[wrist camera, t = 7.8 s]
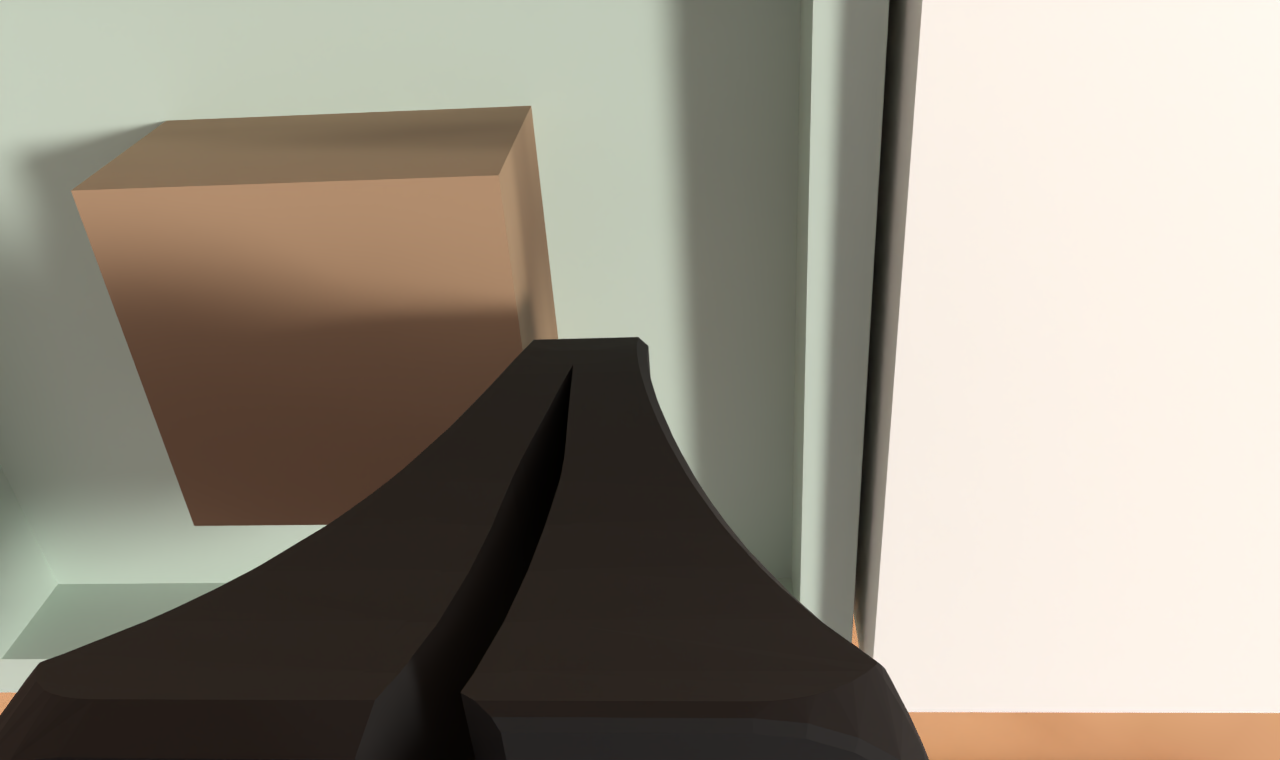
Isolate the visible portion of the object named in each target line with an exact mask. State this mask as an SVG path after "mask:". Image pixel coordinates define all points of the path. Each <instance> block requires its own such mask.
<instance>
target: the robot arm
mask: <svg viewBox="0 0 1280 760" xmlns="http://www.w3.org/2000/svg"><path fill="white" fill-rule="evenodd" d="M0 760H929V759H928V756H927V754H926V751H925V749H924V746H923V744H922V741H921V739H920V737H919V735H918V733H917V730H916V728H915V726H914V724H913V722H912V720H911V718H910V715H909V713H908V711H907V709H906V707H905V705H904V703H903V701H902V699H901V698H900V696H899V694H898V692H897V690H896V688H895V686H894V684H893V682H892V680H891V678H890V676H889V675H888V673H887V671H886V669H885V668H884V667H883V666H882V665H881V664H880V663H878V662H877V661H876V660H874V659H873V658H872V657H870V656H869V655H867V654H866V653H865V652H863V651H862V650H860V649H859V648H858V647H856V646H855V645H853V644H852V643H851V642H849V641H848V640H846V639H845V638H844V637H842V636H841V635H839V634H838V633H837V632H835V631H834V630H833V629H831V628H830V627H828V626H827V625H826V624H824V623H823V622H822V621H821V620H820V619H818V618H817V617H816V616H815V615H814V614H813V613H812V612H810V611H809V610H808V609H807V608H806V607H805V606H804V605H803V604H801V603H800V602H799V601H798V600H797V599H796V598H795V597H793V596H792V595H791V594H790V593H789V592H788V591H787V589H786V588H785V587H784V586H783V585H782V584H781V583H780V582H779V581H778V580H777V579H776V578H775V577H774V576H773V575H772V574H771V573H770V572H769V571H768V570H767V569H766V568H765V567H764V566H763V565H762V564H761V563H760V561H759V560H758V559H757V558H756V557H755V556H754V555H753V554H752V553H751V552H750V551H749V550H748V549H747V548H746V546H745V545H744V544H743V543H742V541H741V540H740V539H739V538H738V536H737V535H736V534H735V533H734V532H733V530H732V529H731V528H730V527H729V525H728V524H727V523H726V522H725V520H724V519H723V517H722V516H721V515H720V513H719V512H718V510H717V509H716V508H715V506H714V505H713V504H712V502H711V501H710V499H709V498H708V496H707V495H706V493H705V492H704V490H703V489H702V487H701V486H700V484H699V482H698V481H697V479H696V477H695V476H694V474H693V472H692V471H691V469H690V467H689V465H688V464H687V462H686V460H685V458H684V457H683V455H682V453H681V451H680V449H679V447H678V445H677V443H676V441H675V439H674V437H673V435H672V433H671V431H670V428H669V426H668V424H667V422H666V419H665V417H664V415H663V412H662V410H661V408H660V405H659V403H658V400H657V397H656V394H655V391H654V388H653V384H652V381H651V377H650V362H649V347H648V345H647V344H646V343H645V342H643V341H642V340H641V339H640V338H639V337H618V338H578V339H539V340H533V341H532V342H531V343H530V344H529V345H528V346H527V347H526V348H525V349H524V350H523V351H522V352H521V353H520V354H519V355H518V356H517V357H516V358H515V359H514V360H513V362H512V363H511V364H510V365H509V366H508V367H507V368H506V369H505V370H504V371H503V372H502V373H501V374H500V376H499V377H498V378H497V379H496V380H495V381H494V382H493V383H492V384H491V385H490V386H489V387H488V388H487V389H486V390H485V392H484V393H483V394H482V395H481V396H480V397H479V398H478V399H477V400H476V401H475V402H474V403H473V404H472V405H471V406H470V407H469V408H468V409H467V410H466V411H465V412H464V413H463V414H462V415H461V416H460V417H459V418H458V419H457V420H456V421H455V422H454V423H453V424H452V425H451V426H450V427H449V428H448V429H447V430H446V431H445V432H444V433H443V434H442V435H440V436H439V437H438V438H437V439H436V440H435V441H434V442H433V443H431V444H430V445H429V446H428V447H427V448H426V449H425V450H424V451H423V452H421V453H420V454H419V455H418V456H417V457H416V458H415V459H414V460H412V461H411V462H410V463H409V464H408V465H407V466H406V467H405V468H404V469H402V470H401V471H400V472H399V473H397V474H396V475H395V476H394V477H392V478H391V479H390V480H389V481H387V482H386V483H385V484H384V485H382V486H381V487H380V488H378V489H377V490H376V491H375V492H373V493H372V494H371V495H369V496H368V497H366V498H365V499H364V500H362V501H361V502H359V503H358V504H357V505H355V506H354V507H352V508H351V509H350V510H348V511H347V512H345V513H344V514H343V515H341V516H340V517H338V518H337V519H335V520H334V521H332V522H331V523H329V524H328V525H326V526H325V527H323V528H321V529H320V530H318V531H316V532H315V533H313V534H311V535H310V536H308V537H306V538H305V539H303V540H301V541H300V542H298V543H296V544H295V545H293V546H291V547H290V548H288V549H286V550H285V551H283V552H281V553H280V554H278V555H276V556H275V557H273V558H272V559H270V560H268V561H267V562H265V563H263V564H262V565H260V566H258V567H256V568H254V569H252V570H251V571H249V572H247V573H245V574H243V575H241V576H239V577H237V578H235V579H233V580H231V581H229V582H228V583H226V584H224V585H222V586H220V587H218V588H216V589H214V590H212V591H210V592H208V593H206V594H203V595H201V596H199V597H197V598H195V599H193V600H191V601H189V602H187V603H185V604H182V605H180V606H178V607H176V608H174V609H172V610H170V611H167V612H165V613H163V614H161V615H158V616H156V617H154V618H152V619H149V620H147V621H145V622H142V623H140V624H137V625H135V626H132V627H130V628H127V629H125V630H122V631H120V632H117V633H114V634H112V635H109V636H107V637H104V638H102V639H99V640H97V641H94V642H92V643H89V644H87V645H84V646H82V647H79V648H77V649H74V650H72V651H69V652H67V653H64V654H61V655H59V656H56V657H53V658H50V659H48V660H45V661H42V662H39V664H38V665H37V666H36V667H35V669H34V670H33V671H32V673H31V674H30V675H29V676H28V678H27V679H26V680H25V682H24V683H23V685H22V686H21V687H20V689H19V690H18V692H17V693H16V694H15V696H14V697H13V699H12V700H11V701H10V703H9V704H8V706H7V707H6V708H5V710H4V711H3V712H2V714H1V715H0Z"/></svg>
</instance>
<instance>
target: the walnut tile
mask: <svg viewBox="0 0 1280 760" xmlns="http://www.w3.org/2000/svg"><path fill="white" fill-rule="evenodd" d="M71 192H72V195H73V198H74V201H75V203H76V206H77V209H78V211H79V214H80V217H81V220H82V222H83V225H84V228H85V230H86V233H87V236H88V239H89V241H90V244H91V247H92V250H93V252H94V255H95V258H96V260H97V263H98V266H99V269H100V271H101V274H102V277H103V279H104V282H105V285H106V288H107V290H108V293H109V296H110V298H111V301H112V304H113V307H114V309H115V312H116V315H117V318H118V320H119V323H120V326H121V328H122V331H123V334H124V337H125V339H126V342H127V345H128V347H129V350H130V353H131V356H132V358H133V361H134V364H135V366H136V369H137V372H138V375H139V377H140V380H141V383H142V386H143V388H144V391H145V394H146V396H147V399H148V402H149V405H150V407H151V410H152V413H153V415H154V418H155V421H156V424H157V426H158V429H159V432H160V434H161V437H162V440H163V443H164V445H165V448H166V451H167V454H168V456H169V459H170V462H171V464H172V467H173V470H174V473H175V475H176V478H177V481H178V483H179V486H180V489H181V492H182V494H183V497H184V500H185V502H186V505H187V508H188V511H189V513H190V516H191V519H192V522H193V524H194V526H257V525H328V524H329V523H331V522H332V521H334V520H335V519H337V518H338V517H340V516H341V515H343V514H344V513H345V512H347V511H348V510H350V509H351V508H352V507H354V506H355V505H357V504H358V503H359V502H361V501H362V500H364V499H365V498H366V497H368V496H369V495H371V494H372V493H373V492H375V491H376V490H377V489H378V488H380V487H381V486H382V485H384V484H385V483H386V482H387V481H389V480H390V479H391V478H392V477H394V476H395V475H396V474H397V473H399V472H400V471H401V470H402V469H404V468H405V467H406V466H407V465H408V464H409V463H410V462H411V461H412V460H414V459H415V458H416V457H417V456H418V455H419V454H420V453H421V452H423V451H424V450H425V449H426V448H427V447H428V446H429V445H430V444H431V443H433V442H434V441H435V440H436V439H437V438H438V437H439V436H440V435H442V434H443V433H444V432H445V431H446V430H447V429H448V428H449V427H450V426H451V425H452V424H453V423H454V422H455V421H456V420H457V419H458V418H459V417H460V416H461V415H462V414H463V413H464V412H465V411H466V410H467V409H468V408H469V407H470V406H471V405H472V404H473V403H474V402H475V401H476V400H477V399H478V398H479V397H480V396H481V395H482V394H483V393H484V392H485V390H486V389H487V388H488V387H489V386H490V385H491V384H492V383H493V382H494V381H495V380H496V379H497V378H498V377H499V376H500V374H501V373H502V372H503V371H504V370H505V369H506V368H507V367H508V366H509V365H510V364H511V363H512V362H513V360H514V359H515V358H516V357H517V356H518V355H519V354H520V353H521V352H522V351H523V350H524V349H525V348H526V347H527V346H528V345H529V344H530V343H531V342H532V341H533V340H539V339H558V332H557V324H556V315H555V306H554V298H553V289H552V280H551V272H550V263H549V255H548V246H547V237H546V229H545V220H544V211H543V203H542V194H541V186H540V177H539V168H538V160H537V151H536V142H535V134H534V125H533V116H532V108H531V106H510V107H486V108H462V109H437V110H413V111H389V112H364V113H340V114H315V115H291V116H267V117H242V118H218V119H193V120H169V121H165V122H164V123H162V124H161V125H160V126H158V127H157V128H156V129H154V130H153V131H151V132H150V133H149V134H147V135H146V136H145V137H143V138H142V139H141V140H139V141H138V142H136V143H135V144H134V145H132V146H131V147H130V148H128V149H127V150H126V151H124V152H123V153H121V154H120V155H119V156H117V157H116V158H115V159H113V160H112V161H111V162H109V163H108V164H106V165H105V166H104V167H102V168H101V169H100V170H98V171H97V172H96V173H94V174H93V175H91V176H90V177H89V178H87V179H86V180H85V181H83V182H82V183H81V184H79V185H78V186H76V187H75V188H74V189H72V190H71Z"/></svg>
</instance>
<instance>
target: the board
mask: <svg viewBox="0 0 1280 760" xmlns="http://www.w3.org/2000/svg"><path fill="white" fill-rule="evenodd" d="M853 612H854V619H855V625H856V631H857V638H858V644H859V649H860V650H862V651H863V652H865V653H866V654H867V655H869V656H870V657H872V658H873V659H874V660H876V661H877V662H878V663H880V664H881V665H882V666H883V667H884V668H885V669H886V671H887V673H888V675H889V676H890V678H891V680H892V682H893V684H894V686H895V688H896V690H897V692H898V694H899V696H900V698H901V699H902V701H903V703H904V705H905V707H906V709H907V711H908V712H1139V713H1280V0H889V14H888V31H887V48H886V66H885V83H884V100H883V117H882V134H881V151H880V168H879V185H878V202H877V219H876V236H875V253H874V270H873V287H872V304H871V321H870V338H869V355H868V372H867V389H866V406H865V423H864V440H863V457H862V474H861V491H860V508H859V525H858V542H857V560H856V577H855V594H854V611H853Z"/></svg>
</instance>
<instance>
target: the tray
mask: <svg viewBox="0 0 1280 760" xmlns="http://www.w3.org/2000/svg"><path fill="white" fill-rule="evenodd" d="M888 14H889V0H0V692H18V690H19V689H20V687H21V686H22V685H23V683H24V682H25V680H26V679H27V678H28V676H29V675H30V674H31V673H32V671H33V670H34V669H35V667H36V666H37V665H38V664H39V662H42V661H45V660H48V659H50V658H53V657H56V656H59V655H61V654H64V653H67V652H69V651H72V650H74V649H77V648H79V647H82V646H84V645H87V644H89V643H92V642H94V641H97V640H99V639H102V638H104V637H107V636H109V635H112V634H114V633H117V632H120V631H122V630H125V629H127V628H130V627H132V626H135V625H137V624H140V623H142V622H145V621H147V620H149V619H152V618H154V617H156V616H158V615H161V614H163V613H165V612H167V611H170V610H172V609H174V608H176V607H178V606H180V605H182V604H185V603H187V602H189V601H191V600H193V599H195V598H197V597H199V596H201V595H203V594H206V593H208V592H210V591H212V590H214V589H216V588H218V587H220V586H222V585H224V584H226V583H228V582H229V581H231V580H233V579H235V578H237V577H239V576H241V575H243V574H245V573H247V572H249V571H251V570H252V569H254V568H256V567H258V566H260V565H262V564H263V563H265V562H267V561H268V560H270V559H272V558H273V557H275V556H276V555H278V554H280V553H281V552H283V551H285V550H286V549H288V548H290V547H291V546H293V545H295V544H296V543H298V542H300V541H301V540H303V539H305V538H306V537H308V536H310V535H311V534H313V533H315V532H316V531H318V530H320V529H321V528H323V527H325V526H326V525H257V526H194V524H193V522H192V519H191V516H190V513H189V511H188V508H187V505H186V502H185V500H184V497H183V494H182V492H181V489H180V486H179V483H178V481H177V478H176V475H175V473H174V470H173V467H172V464H171V462H170V459H169V456H168V454H167V451H166V448H165V445H164V443H163V440H162V437H161V434H160V432H159V429H158V426H157V424H156V421H155V418H154V415H153V413H152V410H151V407H150V405H149V402H148V399H147V396H146V394H145V391H144V388H143V386H142V383H141V380H140V377H139V375H138V372H137V369H136V366H135V364H134V361H133V358H132V356H131V353H130V350H129V347H128V345H127V342H126V339H125V337H124V334H123V331H122V328H121V326H120V323H119V320H118V318H117V315H116V312H115V309H114V307H113V304H112V301H111V298H110V296H109V293H108V290H107V288H106V285H105V282H104V279H103V277H102V274H101V271H100V269H99V266H98V263H97V260H96V258H95V255H94V252H93V250H92V247H91V244H90V241H89V239H88V236H87V233H86V230H85V228H84V225H83V222H82V220H81V217H80V214H79V211H78V209H77V206H76V203H75V201H74V198H73V195H72V192H71V190H72V189H74V188H75V187H76V186H78V185H79V184H81V183H82V182H83V181H85V180H86V179H87V178H89V177H90V176H91V175H93V174H94V173H96V172H97V171H98V170H100V169H101V168H102V167H104V166H105V165H106V164H108V163H109V162H111V161H112V160H113V159H115V158H116V157H117V156H119V155H120V154H121V153H123V152H124V151H126V150H127V149H128V148H130V147H131V146H132V145H134V144H135V143H136V142H138V141H139V140H141V139H142V138H143V137H145V136H146V135H147V134H149V133H150V132H151V131H153V130H154V129H156V128H157V127H158V126H160V125H161V124H162V123H164V122H165V121H169V120H193V119H218V118H242V117H267V116H291V115H315V114H340V113H364V112H389V111H413V110H437V109H462V108H486V107H510V106H531V108H532V116H533V125H534V134H535V142H536V151H537V160H538V168H539V177H540V186H541V194H542V203H543V211H544V220H545V229H546V237H547V246H548V255H549V263H550V272H551V280H552V289H553V298H554V306H555V315H556V324H557V332H558V339H578V338H618V337H639V338H640V339H641V340H642V341H643V342H645V343H646V344H647V345H648V347H649V362H650V377H651V381H652V384H653V388H654V391H655V394H656V397H657V400H658V403H659V405H660V408H661V410H662V412H663V415H664V417H665V419H666V422H667V424H668V426H669V428H670V431H671V433H672V435H673V437H674V439H675V441H676V443H677V445H678V447H679V449H680V451H681V453H682V455H683V457H684V458H685V460H686V462H687V464H688V465H689V467H690V469H691V471H692V472H693V474H694V476H695V477H696V479H697V481H698V482H699V484H700V486H701V487H702V489H703V490H704V492H705V493H706V495H707V496H708V498H709V499H710V501H711V502H712V504H713V505H714V506H715V508H716V509H717V510H718V512H719V513H720V515H721V516H722V517H723V519H724V520H725V522H726V523H727V524H728V525H729V527H730V528H731V529H732V530H733V532H734V533H735V534H736V535H737V536H738V538H739V539H740V540H741V541H742V543H743V544H744V545H745V546H746V548H747V549H748V550H749V551H750V552H751V553H752V554H753V555H754V556H755V557H756V558H757V559H758V560H759V561H760V563H761V564H762V565H763V566H764V567H765V568H766V569H767V570H768V571H769V572H770V573H771V574H772V575H773V576H774V577H775V578H776V579H777V580H778V581H779V582H780V583H781V584H782V585H783V586H784V587H785V588H786V589H787V591H788V592H789V593H790V594H791V595H792V596H793V597H795V598H796V599H797V600H798V601H799V602H800V603H801V604H803V605H804V606H805V607H806V608H807V609H808V610H809V611H810V612H812V613H813V614H814V615H815V616H816V617H817V618H818V619H820V620H821V621H822V622H823V623H824V624H826V625H827V626H828V627H830V628H831V629H833V630H834V631H835V632H837V633H838V634H839V635H841V636H842V637H844V638H845V639H846V640H848V641H849V642H851V643H852V628H853V611H854V594H855V577H856V560H857V542H858V525H859V508H860V491H861V474H862V457H863V440H864V423H865V406H866V389H867V372H868V355H869V338H870V321H871V304H872V287H873V270H874V253H875V236H876V219H877V202H878V185H879V168H880V151H881V134H882V117H883V100H884V83H885V66H886V48H887V31H888Z"/></svg>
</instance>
